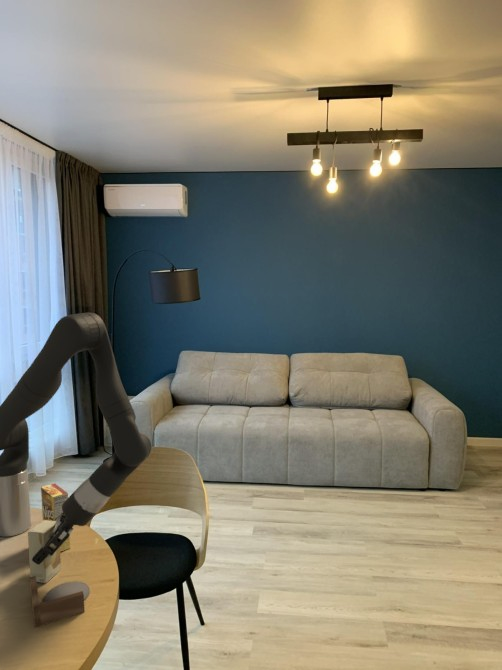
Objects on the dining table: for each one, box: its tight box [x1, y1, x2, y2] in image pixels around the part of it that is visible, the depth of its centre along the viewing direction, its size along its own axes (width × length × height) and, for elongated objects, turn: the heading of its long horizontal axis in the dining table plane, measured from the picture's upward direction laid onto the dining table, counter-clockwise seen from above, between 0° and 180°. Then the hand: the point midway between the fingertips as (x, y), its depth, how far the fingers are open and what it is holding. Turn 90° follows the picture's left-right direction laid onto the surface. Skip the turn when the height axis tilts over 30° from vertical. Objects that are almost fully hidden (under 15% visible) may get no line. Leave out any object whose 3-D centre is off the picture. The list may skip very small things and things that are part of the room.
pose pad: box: [43, 580, 91, 602], centre depth 108 cm, size 10×10×1 cm
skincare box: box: [27, 519, 62, 584], centre depth 116 cm, size 6×4×12 cm
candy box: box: [40, 483, 71, 553], centre depth 129 cm, size 9×4×15 cm, turn 43°
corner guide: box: [29, 576, 85, 628], centre depth 106 cm, size 12×10×4 cm
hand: (39, 551), depth 115 cm, fingers open, 8 cm apart
